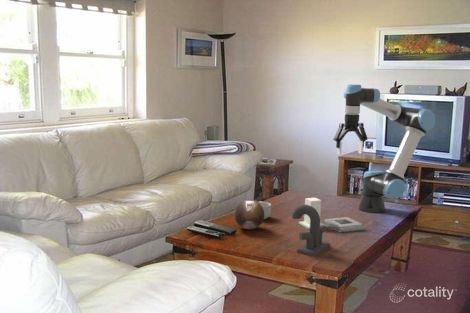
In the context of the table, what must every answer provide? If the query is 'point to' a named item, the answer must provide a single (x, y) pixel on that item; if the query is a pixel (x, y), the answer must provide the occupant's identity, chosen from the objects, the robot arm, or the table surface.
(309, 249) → the faucet
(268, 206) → the teacup
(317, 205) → the peg
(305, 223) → the pad
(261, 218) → the bronze metal ball
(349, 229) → the socket plate
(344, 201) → the table surface
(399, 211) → the table surface
